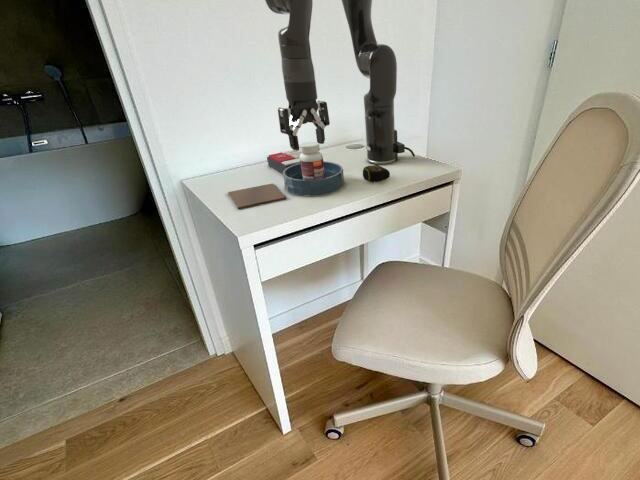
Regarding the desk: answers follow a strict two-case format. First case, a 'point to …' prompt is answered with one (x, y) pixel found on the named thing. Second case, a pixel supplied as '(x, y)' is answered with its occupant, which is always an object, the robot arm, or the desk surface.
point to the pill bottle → (311, 161)
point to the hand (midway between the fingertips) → (308, 146)
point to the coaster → (256, 196)
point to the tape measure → (375, 173)
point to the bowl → (313, 187)
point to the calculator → (284, 160)
